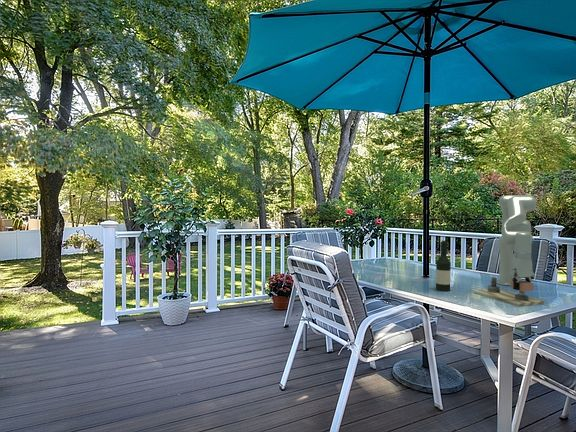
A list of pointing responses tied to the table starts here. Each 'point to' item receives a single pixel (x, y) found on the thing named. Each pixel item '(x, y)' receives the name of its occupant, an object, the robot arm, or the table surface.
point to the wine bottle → (443, 270)
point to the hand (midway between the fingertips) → (522, 289)
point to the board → (507, 295)
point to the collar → (524, 286)
